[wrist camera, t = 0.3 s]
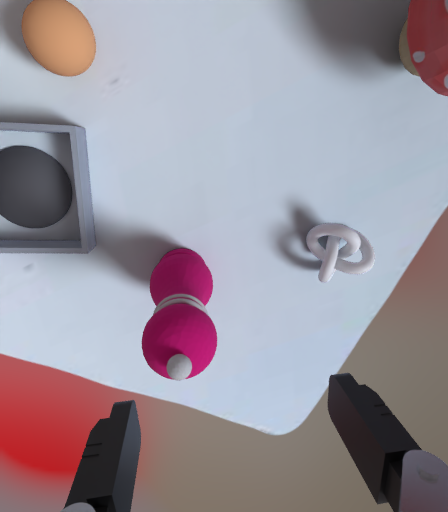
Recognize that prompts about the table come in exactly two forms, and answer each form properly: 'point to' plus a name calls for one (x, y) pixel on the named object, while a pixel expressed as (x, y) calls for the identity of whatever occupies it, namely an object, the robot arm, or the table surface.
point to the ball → (58, 36)
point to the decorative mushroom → (426, 43)
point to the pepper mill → (180, 317)
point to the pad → (32, 187)
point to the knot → (340, 250)
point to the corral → (81, 194)
